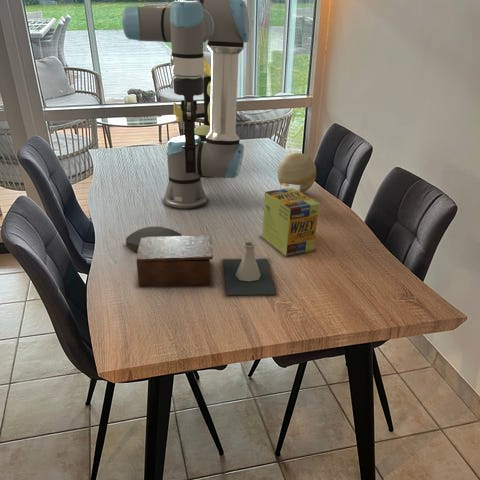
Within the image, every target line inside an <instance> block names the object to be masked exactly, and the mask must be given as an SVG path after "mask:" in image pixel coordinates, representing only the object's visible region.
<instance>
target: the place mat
mask: <svg viewBox="0 0 480 480" xmlns="http://www.w3.org/2000/svg"><path fill="white" fill-rule="evenodd" d="M255 259H256V262H257V265H258V268H259V271H260V274H261V276H260V278H259V280H255V281H243V280H239V279H238V278H237V277H236V272H237V270H238V268H239V265H240V263H241V260H242V258H239V259H238V258H237V259H232V258H231V259H226V258H225V259H223V270H224V271H223V272H224V280H225V290H226V292H225V293H226V297H249V296H250V297H251V296H254V297H255V296H256V297H258V296H260V297H261V296H276V291H275V287H274V282H273V278H272V275H271V269H270V266H269V263H268V258H255Z"/></svg>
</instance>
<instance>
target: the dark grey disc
mask: <svg viewBox="0 0 480 480" xmlns="http://www.w3.org/2000/svg"><path fill="white" fill-rule="evenodd" d="M168 236H183V235H182V234H181V233H180V232H178V231H176V230H174V229H171V228H169V227H165V226H164V227H163V226H146V227H143V228H140V229H137V230H135V231H134V232H131V234H129V235H128V236H126V238H125V245H126V248H127V249H129V250H132V251H135V252H137V253H138V248H139V243H140V239H141V237H168Z"/></svg>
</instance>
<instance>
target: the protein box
mask: <svg viewBox="0 0 480 480" xmlns="http://www.w3.org/2000/svg"><path fill="white" fill-rule="evenodd" d="M280 189H281V188H280ZM280 189H275V190H267V191H264V199H263V215H262V219H263V220H262V231H261V237H262V239H265V241H267V242H268V243H269V244H270V245H271V246H273V247H274V248H275V249H276V250H278V252H280V253H281V254H282V255H284V256H285V257H290V256H294V255H298V254H304V253H308V252H312V251H314V250H315V245H316V244H315V241H316V235H317V227H318V220H319V219H318V218H319V211H320V202H318V201H316V200H315V199H312V198H311V197H309V196H308V195H306V194H305V193H304V192H299V191H298V190H296V189H294V188H288V189H281V190H280Z"/></svg>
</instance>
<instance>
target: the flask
mask: <svg viewBox="0 0 480 480" xmlns="http://www.w3.org/2000/svg"><path fill="white" fill-rule="evenodd" d="M255 246H256V243H255V242H254V241H249V240H248V241H244V242H243V247H244V250H243V255H242V258H241V259H242V260H241V263H240V265H239V268H238V270H237V272H236V277H237V278H238V279H239V280H243V281H255V280H259V278H260V276H261V274H260V271H259V268H258V265H257V262H256V259H257V258H256V256H255V255H256V254H255Z"/></svg>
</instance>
